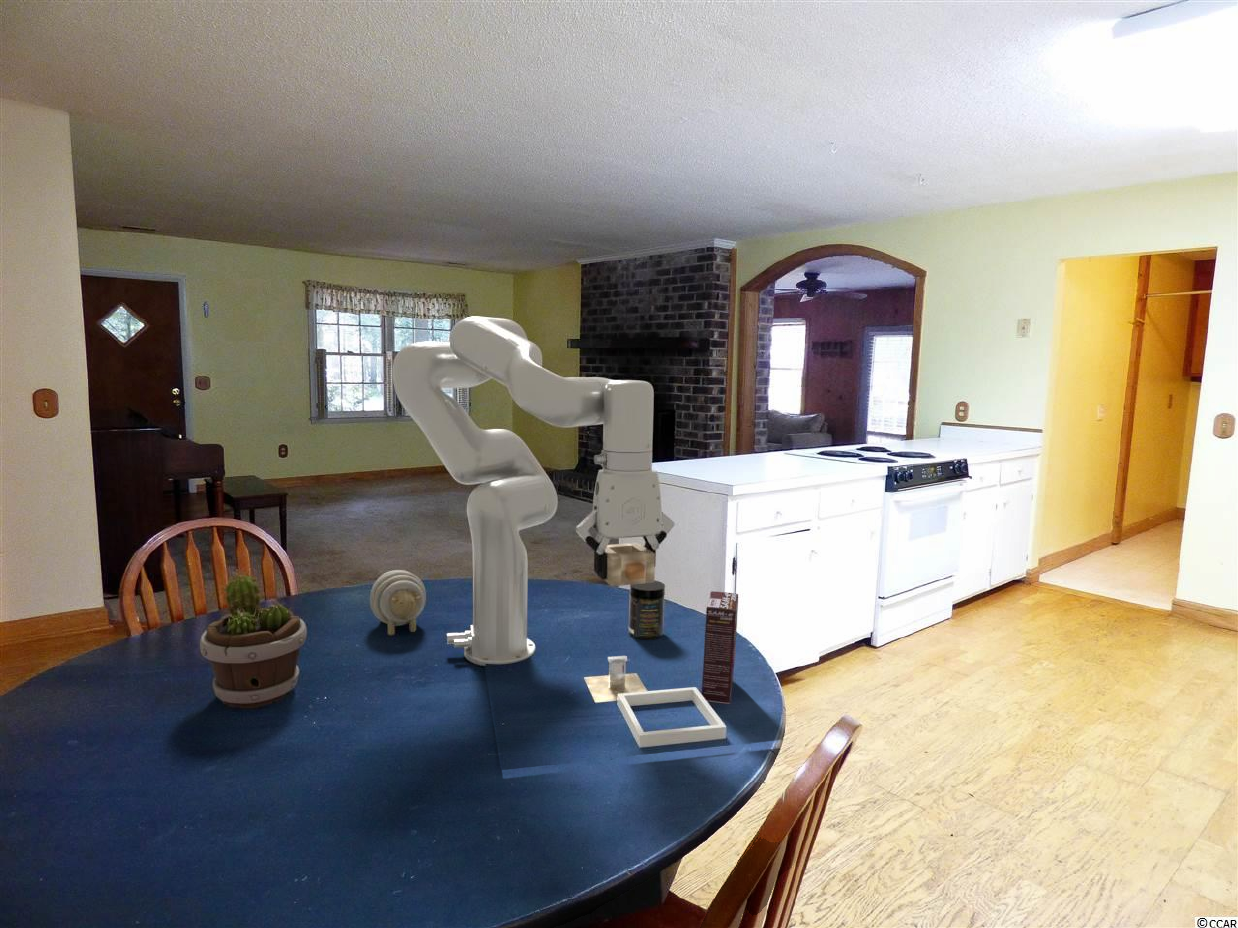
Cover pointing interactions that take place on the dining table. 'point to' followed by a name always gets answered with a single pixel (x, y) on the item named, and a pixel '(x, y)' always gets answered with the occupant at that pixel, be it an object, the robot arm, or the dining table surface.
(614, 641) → the dining table surface
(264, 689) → the flowerpot
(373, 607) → the toy sheep
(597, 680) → the square lid with knob
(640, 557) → the collar
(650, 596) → the supplement container
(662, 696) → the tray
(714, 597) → the supplement box
